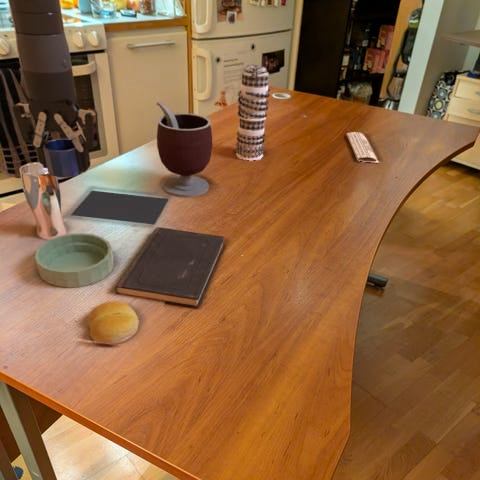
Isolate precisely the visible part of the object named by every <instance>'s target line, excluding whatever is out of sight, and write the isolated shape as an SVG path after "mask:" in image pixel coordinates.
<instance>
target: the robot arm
mask: <svg viewBox="0 0 480 480" xmlns="http://www.w3.org/2000/svg"><path fill="white" fill-rule="evenodd" d="M7 1H8V6H9V10H10V15H11V19H12V24H13V29H14V34H15V35H14V36H15V43H16V44H15V45H16V52H17V56H18V61H19V65H20V69H21V73H22V78H23V83H24V87H25V93H26V96H27V98H28V99H29V100H28V101H29V102H28V103H25V102H24V101H20V102H18V103H16V104H15V105H13V106H12V113H13V115H14V118H15V121H16V124H17V126H18V130H19V132H20V135H21V138H22V141H23V142H24V143H26V144H27V143H30V144H33V146H34V147H35V148H36V153H37V158H38V162H40V163H41V164H42V165H43V168H47V164H46V160H45V155H44V151H43V146H42V145H43V144H44V143H45V142H47V141H48V137H49V135H50V133H55V132H56V133H59V134H65V136H66V138H67V139H69V140H70V141H72V142H73V144H74V146H75V147H76V149H77V150H78V151H77V157H78V163H79V169H80V172H83V173H86V172H87V171H88V170H89V168H90V167H91V164H92V163H91V156H90V150H93V149H94V148H96V146H98V144H99V119H98V117H99V116H98V111H97V110H96V109H90V110H86V109H82V108H81V107H80V105H79V103H78V101H77V92H76V85H75V79H74V71H73V65H72V60H71V53H70V47H69V44H68V43H69V42H68V41H67V37H66V32H65V26H64V20H63V19H64V18H63V13H62V7H61V0H7ZM31 115H32V116H33V117H34V118H35V120H36V121H37V123H36V127H35V128H34V124H33V121H32V118H31ZM79 118H80V119H81V122H82V124H83V125H84V128H85V129H84V130H85V135H84V131H83V129H82V127H81V126H80V124H79V122H78V121H79Z"/></svg>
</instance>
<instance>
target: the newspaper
mask: <svg viewBox="0 0 480 480" xmlns="http://www.w3.org/2000/svg"><path fill="white" fill-rule="evenodd" d="M346 137H347V139H348V142H349V144H350V147H351V149H352V152H353V154H354V156H355V158H356V161H357V162H360V161H362V162H360V163H365V162H371V163H370V164H372V163H376V164H377V163H378V164H380V161H379V160H378V158H377V155H376V153H375V152H374V150H373V148H372V147H371V144H370V142H369V140H368V139H367V137H365V134H363V133H362V132H357V131H351V132H346Z"/></svg>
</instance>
